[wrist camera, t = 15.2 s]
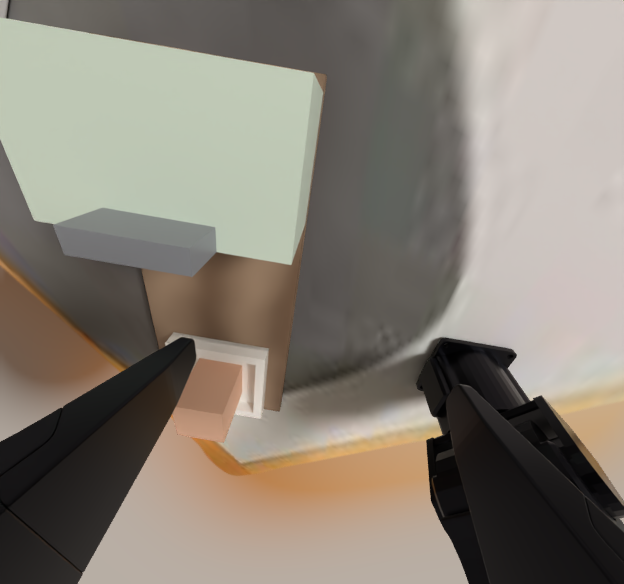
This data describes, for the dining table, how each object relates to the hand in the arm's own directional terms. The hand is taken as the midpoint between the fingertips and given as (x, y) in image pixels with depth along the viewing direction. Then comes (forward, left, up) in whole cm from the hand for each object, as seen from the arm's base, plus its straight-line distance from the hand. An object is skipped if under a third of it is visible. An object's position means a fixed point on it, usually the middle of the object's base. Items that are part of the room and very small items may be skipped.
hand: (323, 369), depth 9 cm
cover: (+8, -5, -11) cm, 14 cm away
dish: (+8, +15, -11) cm, 20 cm away
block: (+8, +15, -10) cm, 20 cm away
